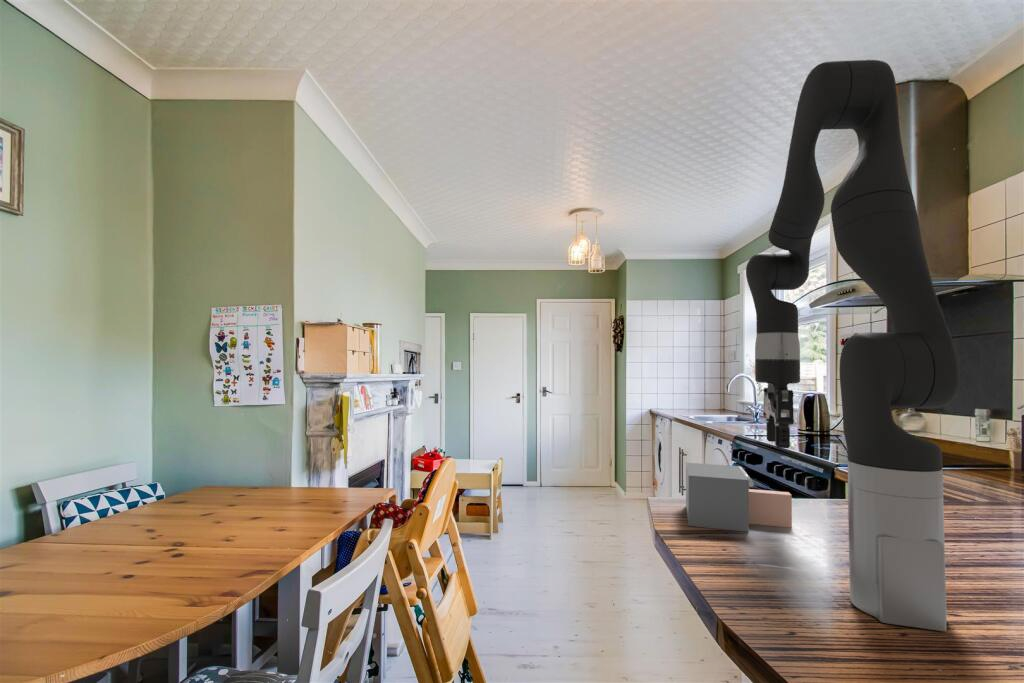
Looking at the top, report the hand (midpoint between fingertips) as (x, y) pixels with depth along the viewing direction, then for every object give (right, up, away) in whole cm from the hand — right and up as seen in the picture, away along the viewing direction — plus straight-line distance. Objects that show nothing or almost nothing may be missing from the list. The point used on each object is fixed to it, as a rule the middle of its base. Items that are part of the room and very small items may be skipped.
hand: (777, 444), depth 95 cm
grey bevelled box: (-11, -15, +2) cm, 18 cm away
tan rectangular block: (-6, -15, +1) cm, 16 cm away
